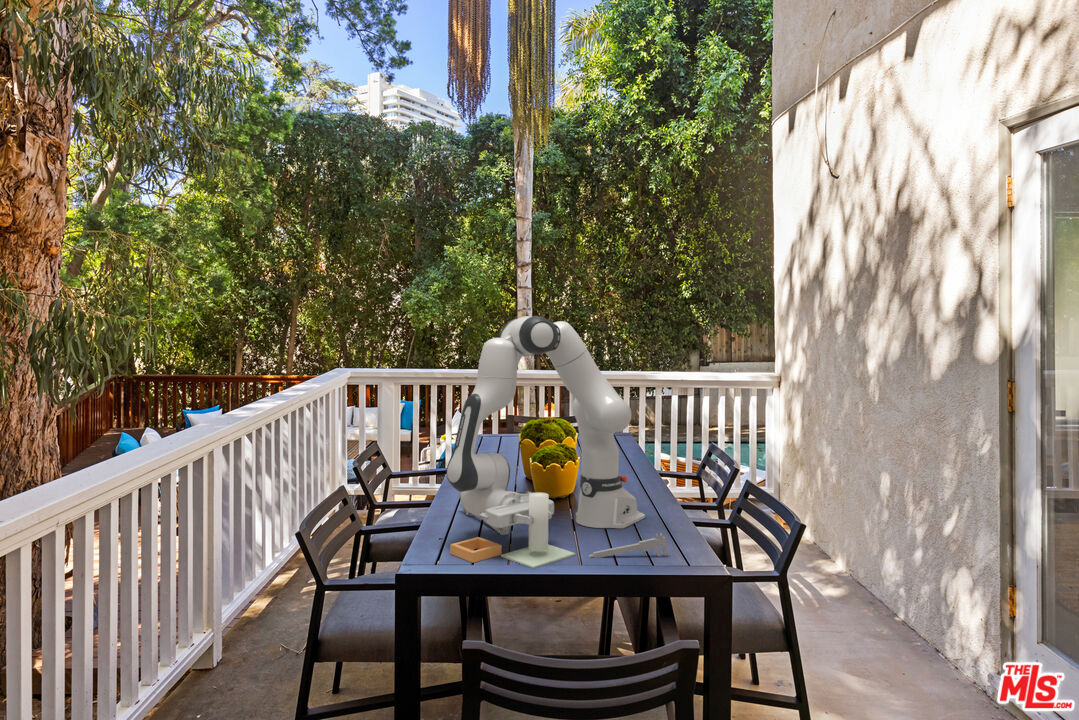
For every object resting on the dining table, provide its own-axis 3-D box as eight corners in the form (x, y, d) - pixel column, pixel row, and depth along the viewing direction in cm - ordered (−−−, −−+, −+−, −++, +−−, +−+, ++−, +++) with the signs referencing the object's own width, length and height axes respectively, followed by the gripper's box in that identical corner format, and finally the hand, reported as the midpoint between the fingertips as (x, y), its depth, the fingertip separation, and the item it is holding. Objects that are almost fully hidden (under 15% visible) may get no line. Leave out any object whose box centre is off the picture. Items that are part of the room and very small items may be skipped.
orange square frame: (478, 546, 195) (478, 536, 194) (501, 554, 188) (501, 545, 188) (450, 553, 188) (450, 544, 188) (472, 562, 181) (472, 553, 181)
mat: (543, 544, 196) (543, 542, 196) (575, 555, 188) (575, 553, 188) (501, 556, 186) (501, 554, 186) (533, 568, 177) (533, 566, 177)
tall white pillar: (538, 544, 190) (539, 491, 189) (552, 548, 187) (552, 495, 186) (524, 548, 187) (525, 494, 186) (537, 552, 183) (538, 498, 182)
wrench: (503, 546, 204) (457, 509, 229) (508, 545, 205) (463, 508, 230) (504, 519, 203) (459, 485, 228) (510, 518, 204) (464, 484, 229)
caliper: (666, 556, 188) (666, 532, 188) (667, 557, 187) (667, 533, 187) (588, 557, 187) (588, 533, 186) (588, 559, 186) (589, 535, 185)
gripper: (475, 503, 188) (510, 513, 178) (532, 490, 202) (568, 499, 192) (475, 526, 189) (510, 539, 179) (532, 512, 203) (568, 523, 193)
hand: (541, 518), depth 186 cm, fingers closed on tall white pillar, 5 cm apart
